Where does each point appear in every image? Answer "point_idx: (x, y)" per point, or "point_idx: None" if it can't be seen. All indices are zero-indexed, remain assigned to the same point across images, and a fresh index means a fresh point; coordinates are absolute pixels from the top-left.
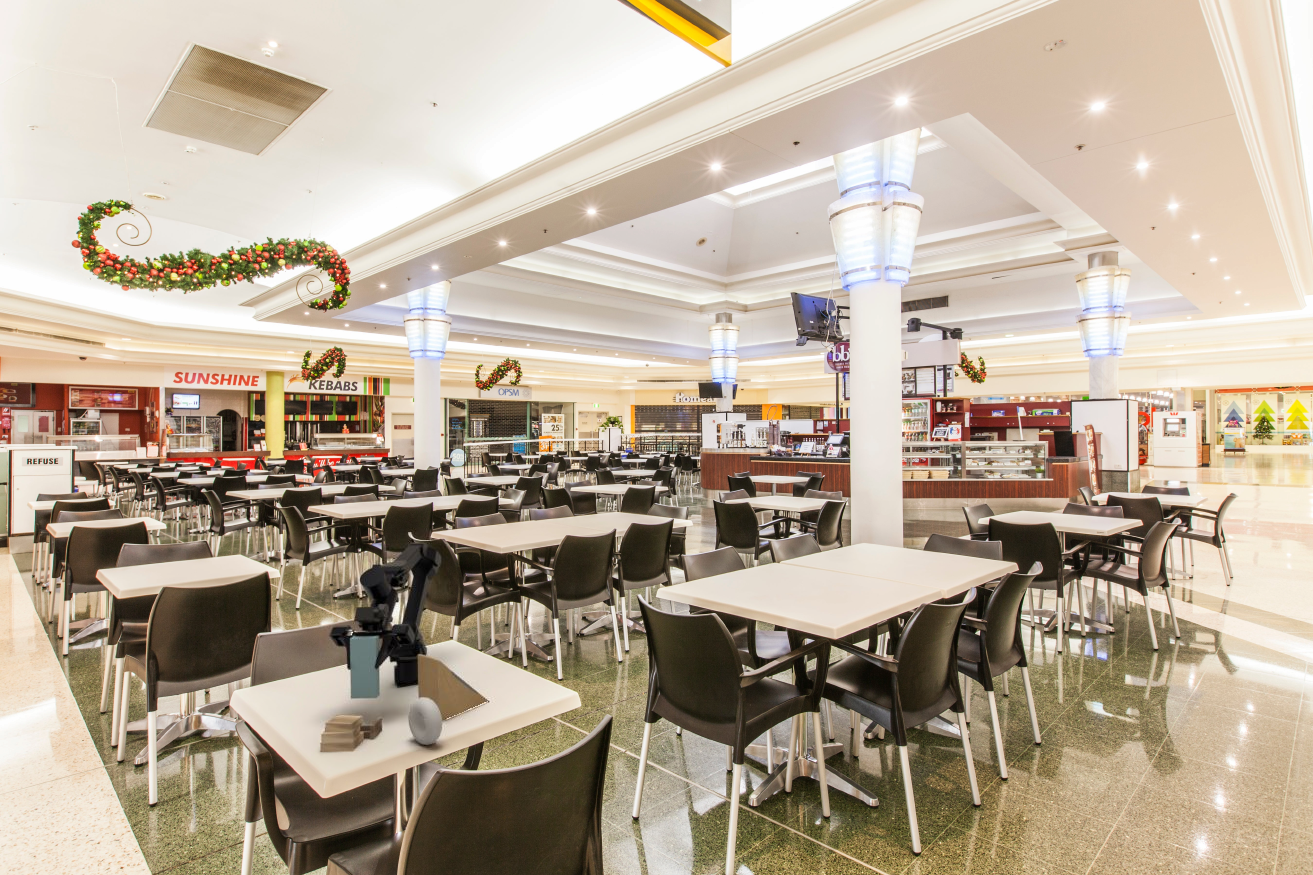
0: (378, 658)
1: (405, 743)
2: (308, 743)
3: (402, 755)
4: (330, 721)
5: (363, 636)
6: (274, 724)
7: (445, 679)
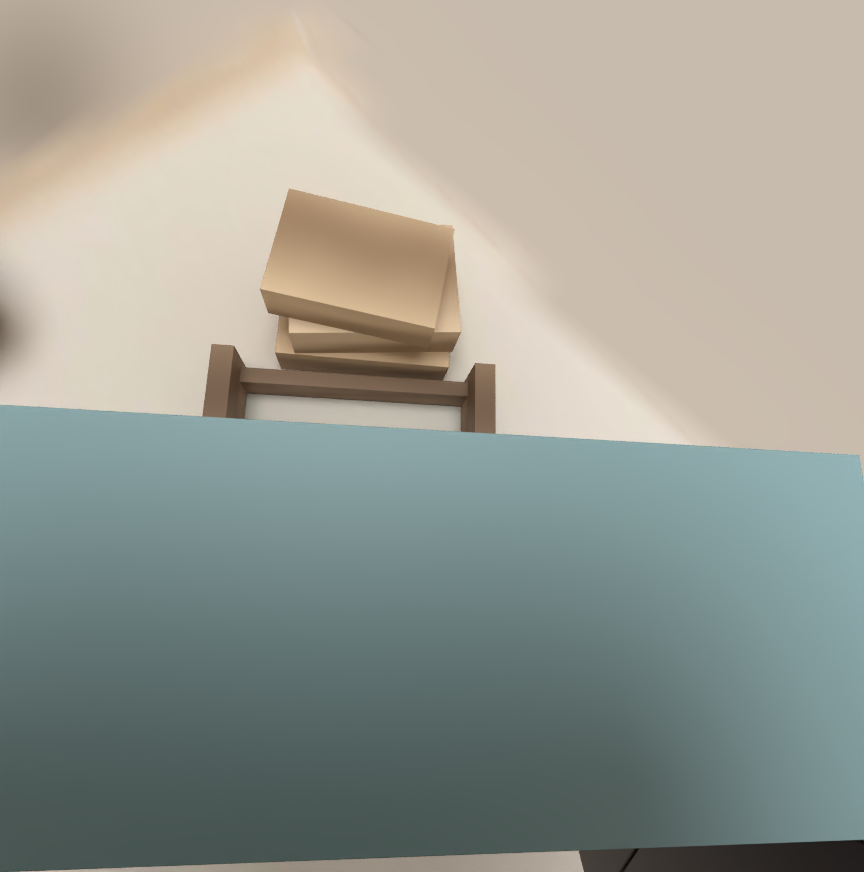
0: None
1: (39, 303)
2: (544, 369)
3: (28, 184)
4: (432, 243)
5: (391, 784)
6: None
7: None
